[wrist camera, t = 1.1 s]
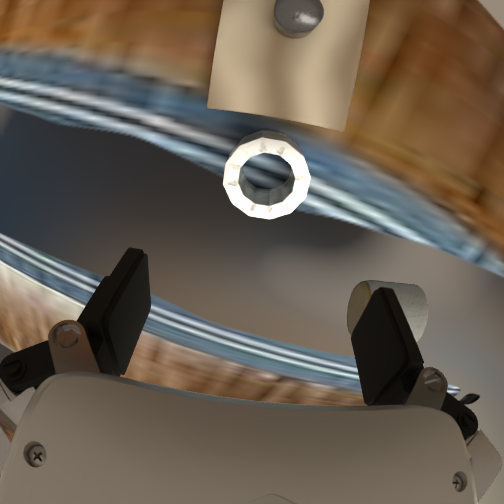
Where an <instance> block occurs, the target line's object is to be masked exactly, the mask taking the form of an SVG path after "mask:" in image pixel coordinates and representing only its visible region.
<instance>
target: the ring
mask: <svg viewBox="0 0 504 504" xmlns="http://www.w3.org/2000/svg"><path fill="white" fill-rule="evenodd" d="M261 153H270V154H276V155H280V156H281V157H282V158H283V159H285V160H286V161H287V162H288V163H289V164H291V167H292V168H291V173H290V177H289V178H288V179H287V180H286V181H285V182H284V183H283V184H282V185H281V186H278V187H275V188H272V189H263V188H257V187H255V186H254V185H253V184H252V183H250V182H249V181H248V180H247V179H246V177H245V175H244V172H243V170H242V166H243V164H244V163H245V162H246V161H247V160H248V158H249V157H252V156H255V155H258V154H261ZM310 178H311V177H310V174H309V171H308V168H307V165H306V162H305V159H304V156H303V154H302V151H301V149H300V147H299V145H297V144H296V143H295V142H294V141H293V140H292V139H290V138H289V137H288V136H287V135H285V134H284V133H281V132H276V131H270V130H264V129H263V130H260V131H257V132H254V133H252V134H249V135H246V136H244V137H243V138H242V139H241V140H240V142H239V143H238V144H237V145H236V146H235V148H234V149H233V150H232V151H231V153H230V155H229V157H228V159H227V161H226V165H225V173H224V181H223V185H224V187H225V189H226V191H227V194H228V196H229V198H230V200H231V202H232V204H234V205H235V206H236V207H238V208H239V209H240V210H242V211H243V212H245V213H246V214H247V215H249V216H254V217H259V218H266V219H273V218H276V217H279V216H282V215H286V214H289V213H291V212H292V211H293V210H294V209H295V208H296V207H297V206H298V205H299V204H300V203H301V202H302V201H303V200H304V199H305V198H306V194H307V190H308V186H309V182H310Z"/></svg>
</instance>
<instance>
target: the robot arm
mask: <svg viewBox="0 0 504 504" xmlns="http://www.w3.org/2000/svg"><path fill="white" fill-rule="evenodd" d="M150 308H151V297H150V285H149V271H148V256H147V254H144V252H143V250H142V249H135V248H128V249H127V251H126V252H125V254H124V255H123V257H122V258H121V260H120V261H119V263H118V264H117V266H116V267H115V269H114V270H113V272H112V274H111V275H110V276H106V277H104V278H103V280H102V281H101V283H100V284H99V286H98V287H97V289H96V291H95V292H94V294H93V295H92V297H91V298H90V300H89V302H88V303H87V305H86V307H85V308H84V310H83V311H82V313H81V315H80V316H79V318H78V320H77V321H74V320H64V321H61V322H59V323H57V324H55V325H54V326H53V327H52V328H51V330H50V332H49V335H48V340H47V341H44V342H42V343H39V344H36V345H34V346H31V347H28V348H26V349H23V350H20V351H18V352H15V353H12V354H10V355H8V356H7V357H5V358H4V359H3V360H2V362H1V364H0V504H478V502H479V500H480V499H481V498H482V496H483V495H484V494H485V492H486V491H487V489H488V488H489V487H490V485H491V484H492V482H493V481H494V479H495V478H496V476H497V475H498V473H499V471H500V470H501V467H502V458H501V456H500V454H499V453H498V451H497V450H496V448H495V447H494V446H493V444H492V443H491V442H490V441H489V439H488V438H487V437H486V435H485V434H484V433H483V431H482V430H479V431H478V430H477V429H478V420H477V417H476V416H475V414H474V413H473V412H472V411H471V410H470V409H469V408H468V407H466V406H465V405H464V404H462V403H461V402H460V401H458V400H457V399H456V398H454V397H453V396H452V395H450V394H449V393H448V392H447V388H448V383H447V380H446V378H445V376H444V375H443V373H442V372H440V371H439V370H438V369H436V368H433V367H426V368H424V367H423V363H424V361H423V358H422V356H421V353H420V350H419V348H418V345H417V343H416V340H415V338H414V335H413V333H412V330H411V328H410V326H409V323H408V321H407V319H406V316H405V314H404V312H403V309H402V307H401V305H400V303H399V300H398V298H397V296H396V294H395V292H394V290H393V289H392V288H387V287H379V288H378V289H377V290H375V291H374V292H373V294H372V296H371V298H370V300H369V302H368V304H367V306H366V308H365V309H364V311H363V313H362V315H361V317H360V319H359V321H358V323H357V324H356V326H355V328H354V330H353V332H352V334H351V341H352V346H353V350H354V355H355V359H356V364H357V369H358V373H359V378H360V383H361V388H362V393H363V398H364V403H365V404H367V405H368V406H322V405H299V404H283V403H271V402H260V401H251V400H242V399H234V398H227V397H220V396H213V395H207V394H201V393H195V392H189V391H184V390H179V389H174V388H169V387H164V386H159V385H154V384H150V383H145V382H141V381H137V380H132V379H128V378H123V377H120V375H121V374H122V375H124V374H125V372H126V370H127V367H128V365H129V362H130V359H131V357H132V354H133V352H134V349H135V346H136V344H137V341H138V339H139V336H140V334H141V331H142V329H143V326H144V324H145V322H146V319H147V317H148V314H149V312H150ZM17 425H18V426H17Z"/></svg>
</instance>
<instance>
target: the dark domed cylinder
mask: <svg viewBox="0 0 504 504" xmlns="http://www.w3.org/2000/svg"><path fill="white" fill-rule="evenodd" d="M323 16H324V9H323V5H322V3H321V2H320V0H276V2H275V5H274V15H273V23H274V26H275V28H276V30H277V31H278V32H279V33H280V34H281V35H283V36H285V37H287V38H291V39H300V38H304V37H306V36H308V35H309V34H310V33H311V32H312V31H313V30H314V29H315V28H316V27H317V25H318V24H319V23H320V22H321V21H322V19H323Z"/></svg>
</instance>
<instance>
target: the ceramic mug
mask: <svg viewBox="0 0 504 504" xmlns="http://www.w3.org/2000/svg"><path fill="white" fill-rule="evenodd" d="M379 287H387V288H392V289H393V290H394V292H395V294H396V296H397V298H398V300H399V303H400V305H401V307H402V309H403V312H404V314H405V316H406V319H407V321H408V323H409V326H410V328H411V330H412V333H413V335H414V338H415V340H416V342H417V341H418V340H419V339H420V337H421V336H422V334H423V332H424V329H425V326H426V323H427V316H428V304H427V299H426V296H425V293H424V291H423V290H422V289H421V288H420V287H419V286H418V285H414V284H403V283H394V282H383V281H375V280H369V281H362V282H360V283H359V284H358V285H357V286H356V287H355V288H354V290H353V292H352V294H351V297H350V300H349V305H348V311H347V326H348V331H349V333H350V335H351V334H352V332H353V330H354V328H355V326H356V324H357V323H358V321H359V319H360V317H361V315H362V313H363V311H364V309H365V308H366V306H367V304H368V302H369V300H370V298H371V296H372V294H373V292H374V291H375V290H377V289H378V288H379Z"/></svg>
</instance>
